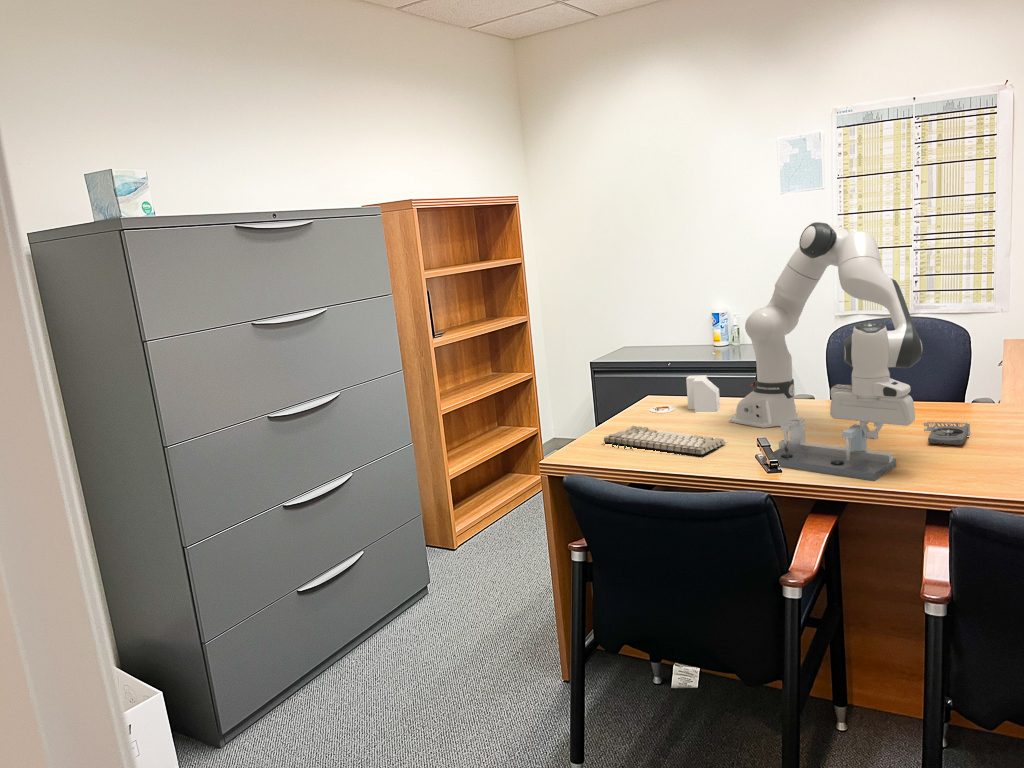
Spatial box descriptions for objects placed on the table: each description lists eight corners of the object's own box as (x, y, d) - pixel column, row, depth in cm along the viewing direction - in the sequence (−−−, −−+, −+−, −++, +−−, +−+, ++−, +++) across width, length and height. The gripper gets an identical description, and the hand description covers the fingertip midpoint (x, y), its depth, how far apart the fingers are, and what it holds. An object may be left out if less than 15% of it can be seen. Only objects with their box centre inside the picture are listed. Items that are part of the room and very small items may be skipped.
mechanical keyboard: (732, 444, 232) (731, 433, 231) (701, 461, 218) (700, 450, 218) (630, 433, 258) (629, 424, 257) (597, 448, 244) (596, 438, 244)
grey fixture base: (762, 464, 208) (761, 426, 206) (787, 451, 217) (785, 415, 215) (874, 480, 186) (873, 439, 184) (896, 465, 195) (895, 426, 193)
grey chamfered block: (690, 406, 285) (688, 375, 283) (721, 406, 280) (719, 374, 278) (685, 413, 275) (683, 381, 273) (717, 413, 271) (715, 380, 269)
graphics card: (924, 420, 223) (971, 421, 216) (924, 432, 223) (971, 434, 216) (916, 435, 209) (965, 437, 202) (916, 448, 210) (966, 450, 203)
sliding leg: (841, 460, 194) (840, 431, 193) (855, 452, 200) (854, 424, 199) (853, 461, 192) (852, 433, 191) (866, 453, 198) (866, 425, 197)
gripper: (825, 386, 197) (826, 436, 200) (907, 391, 182) (908, 446, 185) (835, 381, 201) (836, 431, 204) (917, 386, 186) (917, 439, 189)
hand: (871, 438), depth 194 cm, fingers closed
